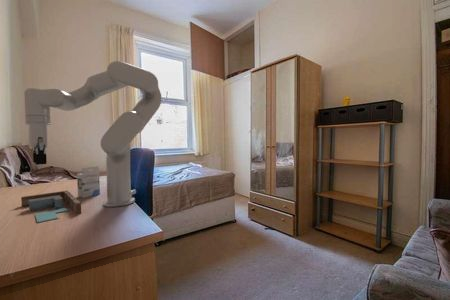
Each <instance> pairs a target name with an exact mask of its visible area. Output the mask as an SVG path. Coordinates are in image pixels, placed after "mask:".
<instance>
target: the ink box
mask: <svg viewBox="0 0 450 300" xmlns="http://www.w3.org/2000/svg"><path fill="white" fill-rule="evenodd" d="M99 169H100V168H99V166H98V165H97V166H87V167H82V168H81V172H80V173H76V182H77V198H82V199H84V198H85V199H86V198H89V197H93V196H97V195H101V191H100V189H101V187H100V171H99Z"/></svg>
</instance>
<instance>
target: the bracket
mask: <svg viewBox="0 0 450 300" xmlns="http://www.w3.org/2000/svg"><path fill="white" fill-rule="evenodd" d="M63 201H64V200H63V199H62V197H61V196H60V195H57V196H51V197H44V198H37V199H31V200H29V206H28V211H29V212H30V213H31V212H36V211H42V210H47V209H48V210H49V209H52V208H54V210H56V209H62V208H64V202H63Z"/></svg>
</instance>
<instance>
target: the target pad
mask: <svg viewBox="0 0 450 300" xmlns="http://www.w3.org/2000/svg"><path fill="white" fill-rule="evenodd" d="M68 211H69V210H68V208H67V207H63V208H61V209H56V210H55V209H53V210H47V211H42V212H41V211H40V212H36V213H34V215H35V220H36V222H37V224H39V223H44V222H49V221H53V220H57V219H59V216H58V215H57V214H60V213H65V212H68Z"/></svg>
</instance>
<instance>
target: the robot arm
mask: <svg viewBox="0 0 450 300" xmlns="http://www.w3.org/2000/svg"><path fill="white" fill-rule="evenodd" d="M126 87H132V88H135V89H138V90H139V91H140V92H141V94H142V97H141V99H140V100H139V101H138V102H137V103H136V104H135V105H134V107H133V108H132V110H129V111H125V112H123V113H122V114H121V115H119V116H118V117H117V119H115V121H114V122H113V124H111V125H110V127H109V128H108V129H107V131H106V132H105V133H104V135H103V136H101V139H100V147H101V149H102V151H103V152H104V153H105V154H106V163H105V165H106V167H105V168H106V197H107V199H105V200H104V201H103V207H104V206H105V207H108V208H114V207H115V208H117V207H123V206H128V205H131V204H132V203H135V201H136V198H135V197H133V195H135V194H136V193H137V190H136V189H132V188H131V187H132V186H131V143H132V142H133V140H134V139H135V138H136V136H137V135H138V134H140V133H141V132H143V130H144V129H145V127H146V125H147V124H148V123H149V122H150V120H151V119H152V118H153V117H154V115H155V114H156V113H157V111H158V110H159V108H160V106H161V104H162V93H161V90H160V87H159V80H158V77H157V76H156V75H155V74H154V73H153V72H151V71H149V70H146V69H144V68H141V67H138V66H136V65H132V64H130V63H127V62H124V61H120V60H114V61H112V62H110V63H109V64H108V66H107V68H106V70H105V71H102V72H100V73H96V74H93V75H91V76H89V77H87V78H86V81H85V83H84V85H82V86H81V87H79V88H78V89H75V90H72V91H69V92H67V91H64V90H63V89H58V88H46V89H40V88H26V89H25V90H24V91H23V92H24V93H23V94H24V115H25V118H24V119H25V125H28V142H29V143H28V147H29V149H31V150H33V153H32V162H33V163H34V164H35V165H36V166H37V165H38V166H39V165H47V163H48V162H47V161H48V160H47V152H46V149H48V148H47V147H48V126H50V125H51V124H52V123H51V108H53V109H58V110H61V111H65V112H69V111H75V110H76V109H79V108H81V107H84V106H87V105H89V104H91V103H93V102H95V101H96V100H98V99H99V98H100V97H102V96H105V95H107V94H110V93H113V92H115V91H118V90H121V89H123V88H126Z"/></svg>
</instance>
